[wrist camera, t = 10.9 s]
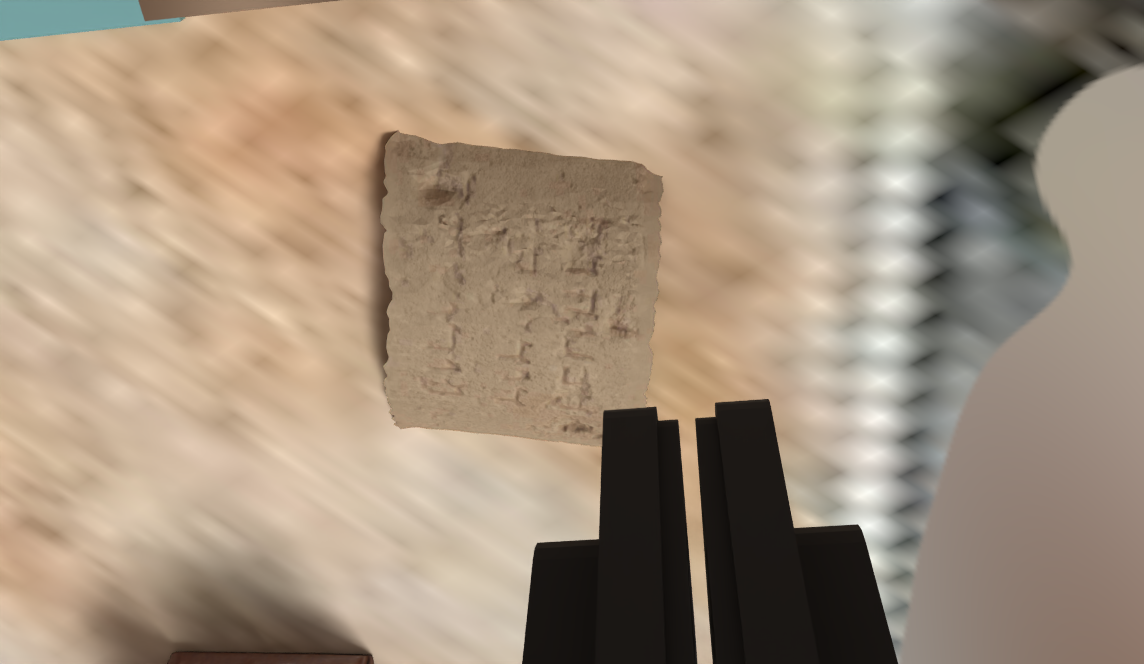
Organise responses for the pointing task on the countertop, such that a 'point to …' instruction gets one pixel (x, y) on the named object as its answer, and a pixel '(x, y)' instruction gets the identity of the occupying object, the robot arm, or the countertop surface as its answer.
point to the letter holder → (266, 658)
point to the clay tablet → (517, 288)
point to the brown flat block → (208, 7)
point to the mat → (68, 17)
